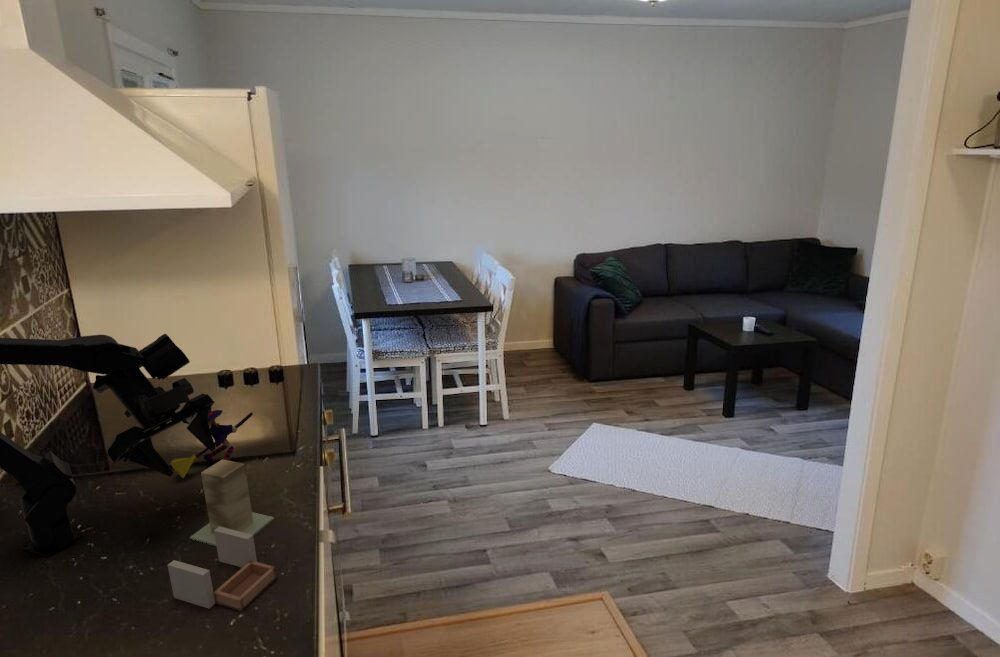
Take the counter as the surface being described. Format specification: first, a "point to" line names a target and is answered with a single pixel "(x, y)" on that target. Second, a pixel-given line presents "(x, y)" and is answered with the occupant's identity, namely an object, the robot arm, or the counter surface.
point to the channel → (197, 581)
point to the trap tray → (245, 585)
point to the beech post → (227, 496)
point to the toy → (220, 438)
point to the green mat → (255, 527)
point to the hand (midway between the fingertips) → (193, 462)
